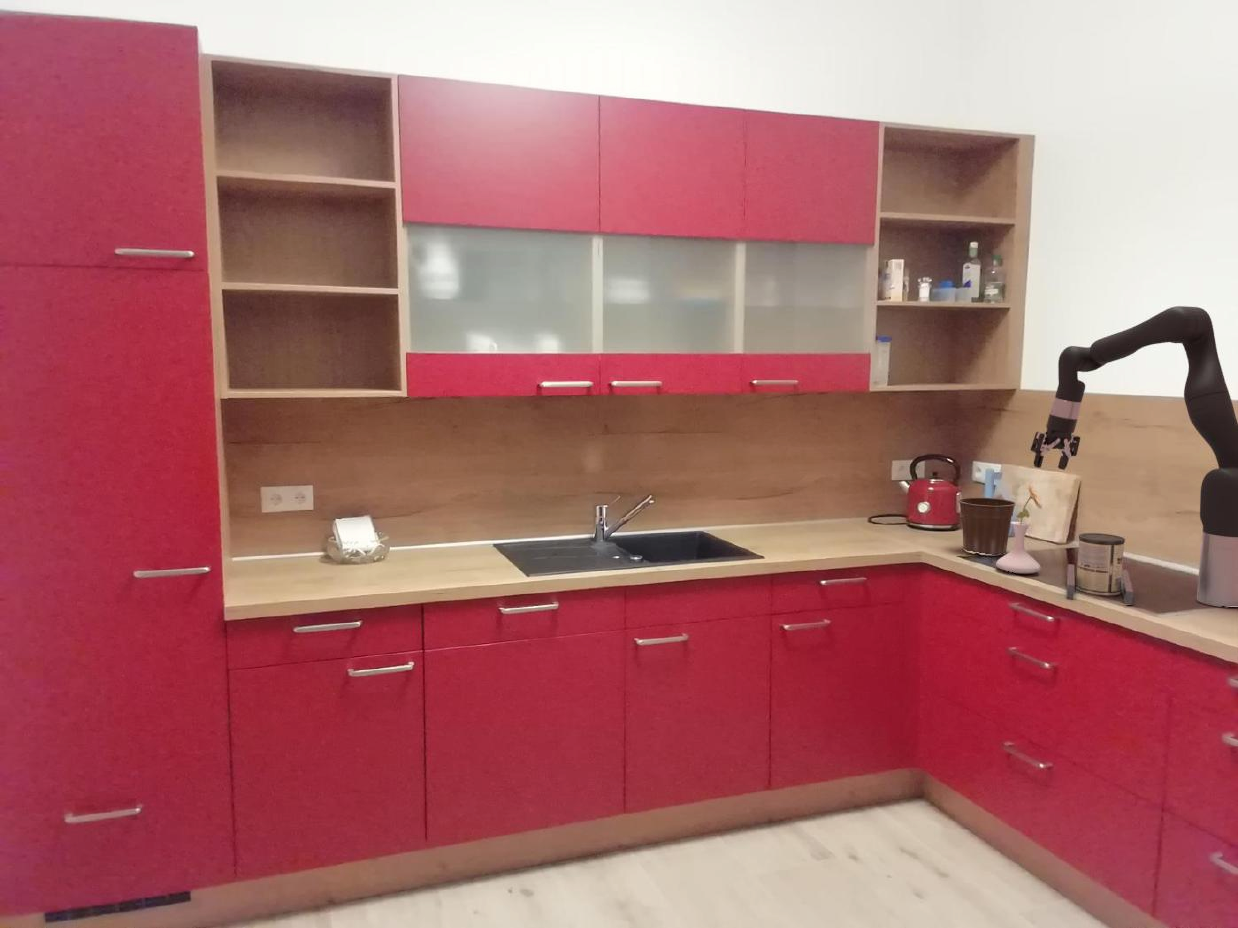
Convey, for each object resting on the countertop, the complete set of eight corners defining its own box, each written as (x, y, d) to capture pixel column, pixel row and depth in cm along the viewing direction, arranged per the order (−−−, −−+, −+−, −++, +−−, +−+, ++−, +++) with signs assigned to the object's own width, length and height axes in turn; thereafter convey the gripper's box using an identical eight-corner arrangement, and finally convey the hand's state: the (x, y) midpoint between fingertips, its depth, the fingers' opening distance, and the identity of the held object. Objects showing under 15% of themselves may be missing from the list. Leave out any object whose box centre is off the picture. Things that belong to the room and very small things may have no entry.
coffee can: (1076, 583, 229) (1079, 531, 227) (1121, 589, 224) (1125, 535, 222) (1073, 592, 220) (1077, 537, 218) (1120, 597, 215) (1124, 542, 213)
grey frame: (1126, 582, 230) (1127, 570, 230) (1132, 606, 207) (1133, 592, 207) (1067, 576, 237) (1068, 564, 236) (1066, 598, 214) (1067, 584, 213)
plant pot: (975, 559, 257) (978, 505, 255) (945, 548, 273) (948, 497, 271) (1024, 557, 260) (1027, 504, 258) (991, 546, 276) (994, 496, 274)
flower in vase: (1026, 578, 234) (1032, 487, 231) (987, 570, 243) (992, 482, 240) (1051, 572, 241) (1057, 483, 238) (1012, 564, 250) (1017, 479, 248)
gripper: (1052, 416, 246) (1037, 470, 250) (1093, 419, 249) (1078, 473, 254) (1034, 410, 253) (1020, 463, 257) (1074, 413, 256) (1060, 465, 261)
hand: (1049, 468), depth 255 cm, fingers open, 8 cm apart
